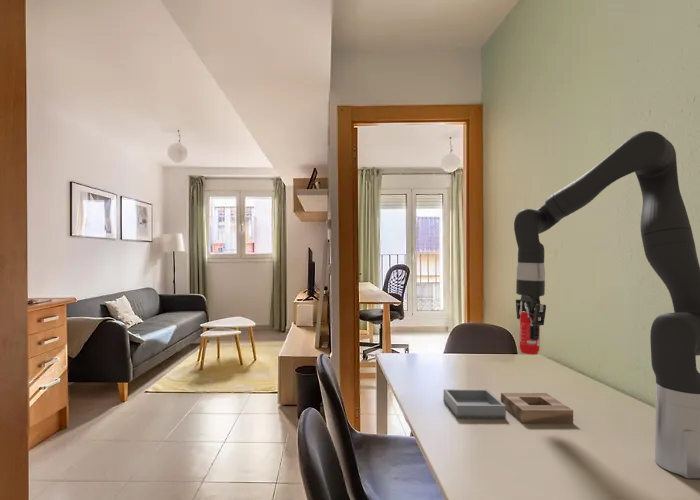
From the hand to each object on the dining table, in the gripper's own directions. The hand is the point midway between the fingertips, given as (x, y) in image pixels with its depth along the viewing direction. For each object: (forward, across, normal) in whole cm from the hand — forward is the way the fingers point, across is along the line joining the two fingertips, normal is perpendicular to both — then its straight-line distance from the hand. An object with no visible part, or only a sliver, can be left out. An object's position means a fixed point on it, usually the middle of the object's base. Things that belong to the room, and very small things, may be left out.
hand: (529, 337), depth 118 cm
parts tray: (+22, +2, +15) cm, 27 cm away
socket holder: (+22, -1, -2) cm, 22 cm away
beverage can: (+5, 0, 0) cm, 5 cm away
